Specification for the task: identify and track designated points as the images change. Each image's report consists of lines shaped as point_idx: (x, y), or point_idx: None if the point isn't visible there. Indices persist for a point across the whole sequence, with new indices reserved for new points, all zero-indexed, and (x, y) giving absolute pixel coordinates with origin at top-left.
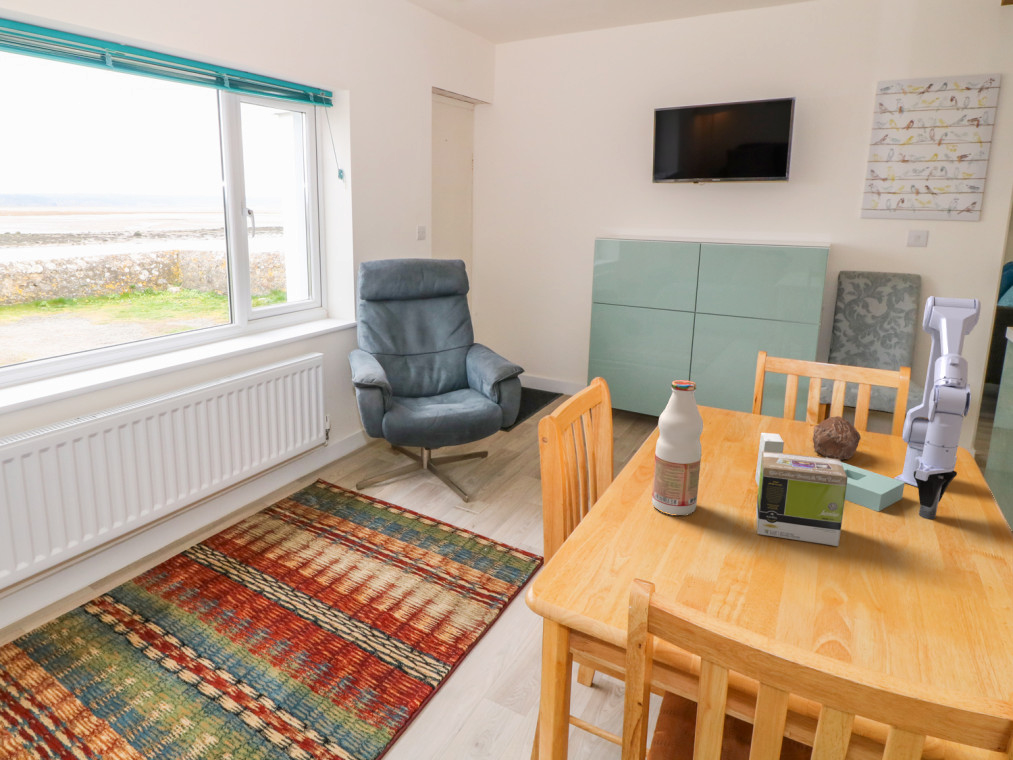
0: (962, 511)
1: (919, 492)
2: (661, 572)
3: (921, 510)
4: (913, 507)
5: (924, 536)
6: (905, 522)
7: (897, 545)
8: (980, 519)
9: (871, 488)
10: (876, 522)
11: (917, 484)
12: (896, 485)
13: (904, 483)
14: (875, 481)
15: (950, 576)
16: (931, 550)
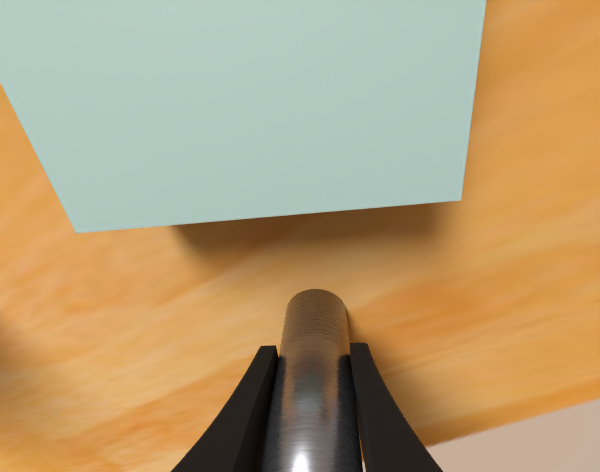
0: (490, 358)
1: (226, 405)
2: None
3: (285, 321)
4: (355, 248)
5: (153, 367)
6: (179, 298)
7: (19, 353)
8: (459, 404)
9: (78, 132)
10: (59, 245)
11: (182, 459)
12: (331, 200)
13: (454, 196)
14: (244, 42)
15: (49, 453)
16: (101, 403)
